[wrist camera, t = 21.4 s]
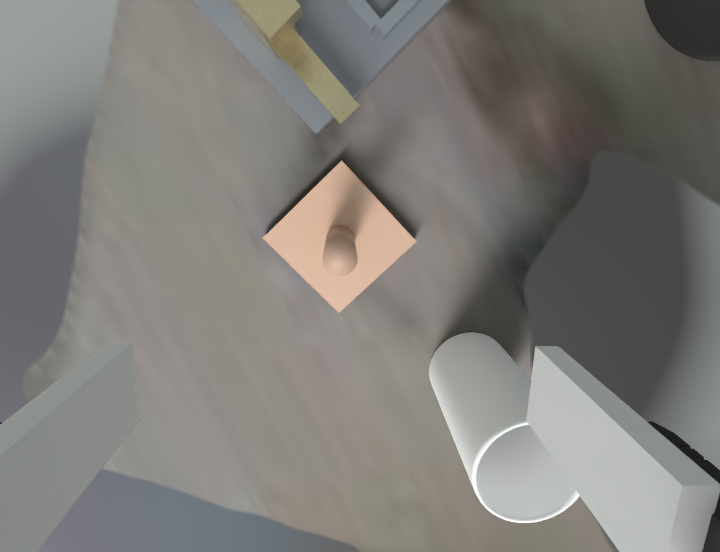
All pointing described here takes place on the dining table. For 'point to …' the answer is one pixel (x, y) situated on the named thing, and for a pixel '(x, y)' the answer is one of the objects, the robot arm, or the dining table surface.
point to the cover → (339, 237)
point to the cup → (497, 430)
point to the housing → (331, 44)
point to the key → (295, 51)
